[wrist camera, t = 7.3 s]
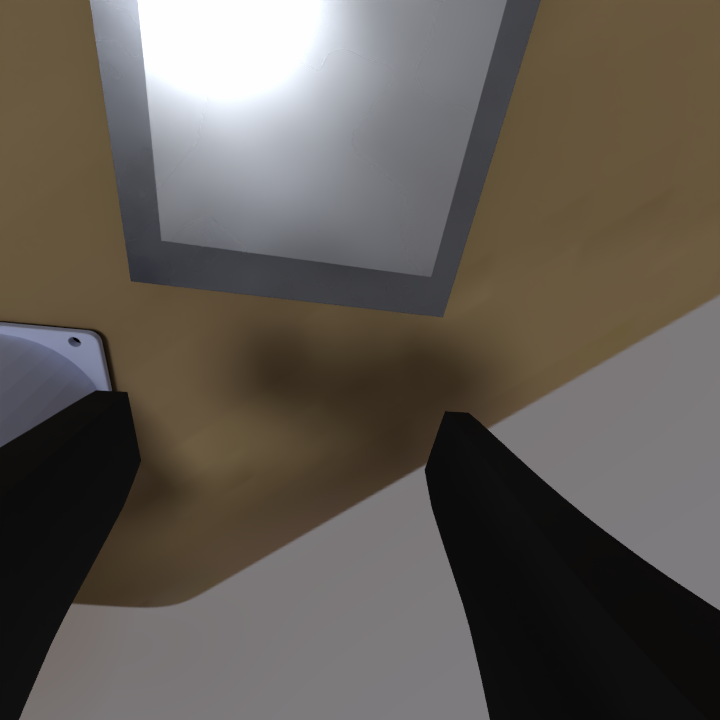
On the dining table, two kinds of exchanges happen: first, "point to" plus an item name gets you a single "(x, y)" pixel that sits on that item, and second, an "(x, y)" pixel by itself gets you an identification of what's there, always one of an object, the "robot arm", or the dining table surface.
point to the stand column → (314, 123)
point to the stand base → (273, 273)
